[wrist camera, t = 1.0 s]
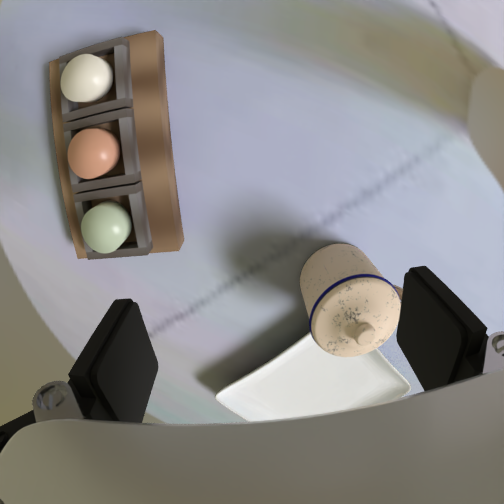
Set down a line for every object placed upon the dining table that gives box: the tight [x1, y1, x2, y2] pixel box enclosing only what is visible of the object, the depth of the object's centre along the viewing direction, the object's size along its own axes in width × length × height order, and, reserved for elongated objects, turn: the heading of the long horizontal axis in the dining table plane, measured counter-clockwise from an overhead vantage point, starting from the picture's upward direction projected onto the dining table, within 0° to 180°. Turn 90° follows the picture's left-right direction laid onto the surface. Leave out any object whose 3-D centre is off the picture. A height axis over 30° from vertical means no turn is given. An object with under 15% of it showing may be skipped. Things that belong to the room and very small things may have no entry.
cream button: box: [61, 54, 114, 103], centre depth 22 cm, size 4×4×2 cm
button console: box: [49, 30, 184, 260], centre depth 28 cm, size 22×12×5 cm, turn 4°
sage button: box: [81, 200, 132, 253], centre depth 28 cm, size 4×4×2 cm
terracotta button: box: [68, 128, 121, 179], centre depth 25 cm, size 4×4×2 cm
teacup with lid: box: [300, 244, 403, 357], centre depth 31 cm, size 12×9×12 cm
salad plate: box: [215, 332, 411, 422], centre depth 41 cm, size 21×21×3 cm
